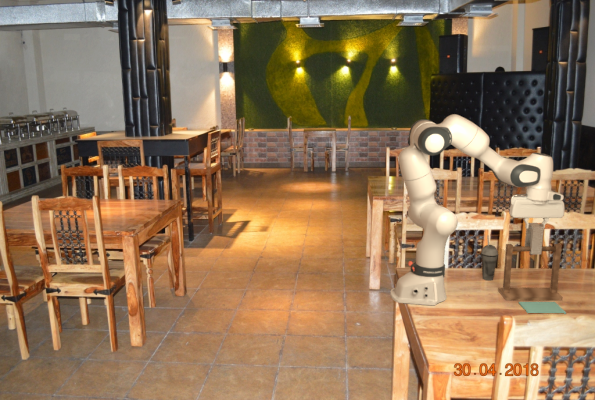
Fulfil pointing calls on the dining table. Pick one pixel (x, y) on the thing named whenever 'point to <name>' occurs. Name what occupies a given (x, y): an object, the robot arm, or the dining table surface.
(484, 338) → the dining table surface
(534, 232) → the tall rectangular pillar
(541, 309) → the mat
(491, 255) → the beverage cup
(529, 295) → the stand
